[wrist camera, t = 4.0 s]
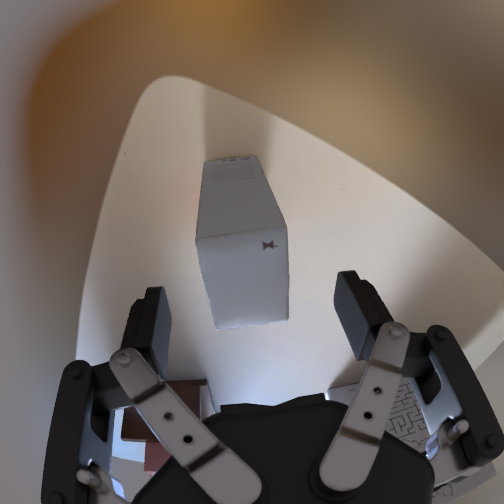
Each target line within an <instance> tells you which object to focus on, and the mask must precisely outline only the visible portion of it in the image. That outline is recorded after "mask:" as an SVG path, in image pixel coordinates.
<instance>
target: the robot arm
mask: <svg viewBox="0 0 504 504" xmlns="http://www.w3.org/2000/svg"><path fill="white" fill-rule="evenodd" d="M334 307H335V310H336V312H337V315H338V317H339V319H340V322H341V324H342V326H343V329H344V331H345V333H346V336H347V338H348V340H349V343H350V345H351V348H352V350H353V352H354V355H355V357H356V360H357V361H360V360H366V362H367V365H366V368H365V370H364V373H363V375H362V377H361V380H360V382H359V385H358V387H357V389H356V392H355V394H354V396H353V398H352V401H351V403H350V405H349V406H348V405H346V404H344V403H341V402H338V401H334V400H326V399H325V396H324V393H319V394H313V395H307V396H301V397H297V398H295V399H292V400H289V401H287V402H284V403H281V404H278V405H275V406H267V405H258V404H249V403H242V404H229V405H220V409H221V412H219V413H216V414H213V415H211V416H209V417H207V418H205V419H204V420H202V421H200V420H199V419H198V418H197V416H196V415H195V414H194V413H193V412H192V411H191V410H190V409H189V408H188V407H187V405H186V404H185V403H184V402H183V401H182V400H181V399H180V398H179V396H178V395H177V394H176V393H175V392H174V391H173V390H172V388H171V387H170V386H169V385H168V384H167V383H166V382H165V383H163V382H162V381H165V379H166V368H167V358H168V349H169V340H170V331H171V312H170V308H169V304H168V300H167V296H166V292H165V289H164V287H163V286H159V287H147V289H146V293H145V297H144V299H137V300H136V301H135V303H134V304H133V305H132V306H131V309H130V313H129V317H128V320H127V324H126V328H125V332H124V335H123V339H122V344H121V348H120V350H118V351H116V352H115V353H114V354H113V355H112V356H111V358H110V361H108V362H106V363H103V364H99V365H95V366H90V364H89V363H88V362H86V361H84V360H76V361H73V362H71V363H69V364H68V365H67V366H66V367H65V369H64V371H63V374H62V378H61V381H60V385H59V390H58V393H57V398H56V402H55V407H54V411H53V416H52V421H51V426H50V431H49V437H48V443H47V449H46V456H45V463H44V470H43V479H42V489H41V503H42V504H432V496H433V490H434V488H435V487H437V486H439V485H442V484H444V483H447V482H451V483H458V482H461V481H462V480H464V479H466V478H467V477H469V476H470V475H472V474H473V473H475V472H477V471H478V470H480V469H481V468H482V467H484V466H485V465H487V464H488V463H490V462H491V461H493V460H494V459H495V458H497V457H498V456H499V455H500V454H501V453H502V452H503V450H504V434H503V432H502V430H501V428H500V425H499V423H498V420H497V418H496V416H495V414H494V412H493V409H492V407H491V405H490V403H489V401H488V399H487V397H486V395H485V393H484V391H483V389H482V387H481V385H480V383H479V381H478V379H477V377H476V375H475V373H474V371H473V369H472V368H471V366H470V364H469V362H468V360H467V358H466V357H465V355H464V353H463V351H462V350H461V348H460V346H459V344H458V343H457V341H456V339H455V337H454V336H453V334H452V333H451V331H450V330H449V329H448V328H446V327H444V326H441V325H433V326H431V327H429V328H428V330H427V332H426V333H415V332H409V330H408V329H407V327H406V326H404V325H403V324H401V323H399V322H395V321H394V320H393V318H392V316H391V314H390V313H389V311H388V309H387V308H386V306H385V304H384V303H383V301H382V300H381V298H380V296H379V295H378V293H377V291H376V289H375V288H374V286H373V285H372V284H370V283H369V282H368V281H367V280H360V278H359V276H358V275H357V273H356V271H354V270H351V271H341V272H339V273H338V275H337V281H336V287H335V293H334ZM402 378H409V381H410V383H411V386H412V388H413V390H414V393H415V396H416V398H417V401H418V403H419V406H420V408H421V411H422V414H423V416H424V419H425V422H426V424H427V427H428V430H429V433H430V437H429V439H428V441H427V444H426V449H427V457H426V456H424V455H423V454H422V453H420V452H419V451H417V450H415V449H414V448H412V447H411V446H409V445H408V444H406V443H404V442H403V441H401V440H400V439H398V438H397V437H395V436H393V435H392V434H390V433H389V432H387V431H386V430H385V428H386V425H387V422H388V419H389V417H390V414H391V411H392V408H393V405H394V402H395V399H396V395H397V392H398V389H399V386H400V382H401V379H402ZM129 406H134V407H135V409H136V410H137V411H138V413H139V414H140V416H141V417H142V418H143V420H144V421H145V423H146V424H147V425H148V427H149V428H150V429H151V431H152V432H153V433H154V435H155V436H156V437H157V439H158V440H159V441H160V442H161V444H162V445H163V446H164V448H165V449H166V450H167V451H168V453H169V454H170V455H171V456H170V457H169V458H168V459H167V460H166V462H165V463H164V464H163V465H162V466H161V467H160V468H159V470H158V471H157V472H156V473H155V474H154V475H153V476H152V478H151V479H150V480H149V481H148V482H147V483H146V484H145V485H144V486H143V488H142V489H141V490H140V491H139V492H138V493H137V494H136V496H135V497H134V499H133V501H132V503H130V502H128V501H127V499H126V497H125V495H124V491H123V486H122V484H121V483H120V481H119V480H118V479H117V478H115V477H114V476H112V475H111V458H112V442H113V429H114V417H115V410H118V409H122V408H126V407H129Z"/></svg>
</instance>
